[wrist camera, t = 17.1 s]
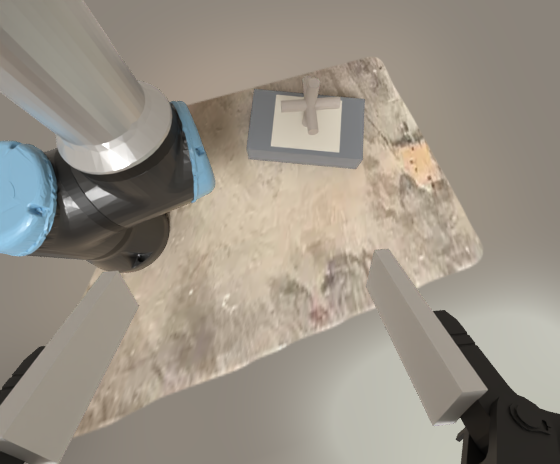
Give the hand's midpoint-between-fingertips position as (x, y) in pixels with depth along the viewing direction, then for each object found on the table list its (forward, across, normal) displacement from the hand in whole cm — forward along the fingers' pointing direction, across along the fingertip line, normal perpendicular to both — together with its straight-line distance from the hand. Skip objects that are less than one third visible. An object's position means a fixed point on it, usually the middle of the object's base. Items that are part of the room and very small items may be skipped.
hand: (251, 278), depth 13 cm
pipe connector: (+40, +9, 0) cm, 41 cm away
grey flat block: (+43, +10, -3) cm, 44 cm away
